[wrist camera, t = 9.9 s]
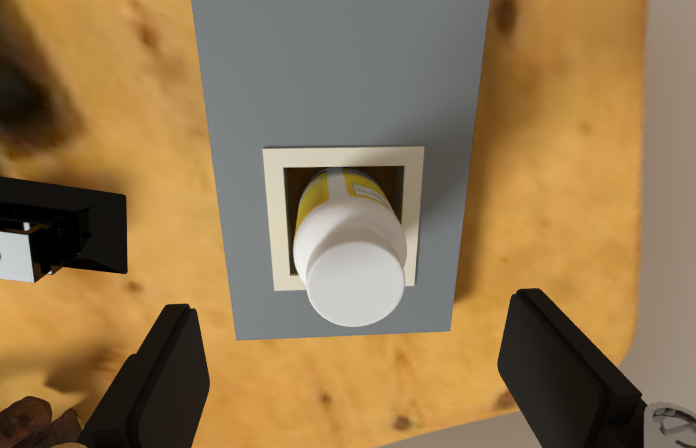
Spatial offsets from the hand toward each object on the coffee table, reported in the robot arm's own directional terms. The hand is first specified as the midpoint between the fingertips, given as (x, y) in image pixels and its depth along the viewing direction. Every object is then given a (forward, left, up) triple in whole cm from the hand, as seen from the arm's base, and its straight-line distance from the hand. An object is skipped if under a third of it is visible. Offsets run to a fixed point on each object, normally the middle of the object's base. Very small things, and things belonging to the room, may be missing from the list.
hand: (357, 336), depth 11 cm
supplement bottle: (+1, 0, -14) cm, 14 cm away
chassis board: (-1, 0, -14) cm, 14 cm away
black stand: (+1, -18, -14) cm, 23 cm away
